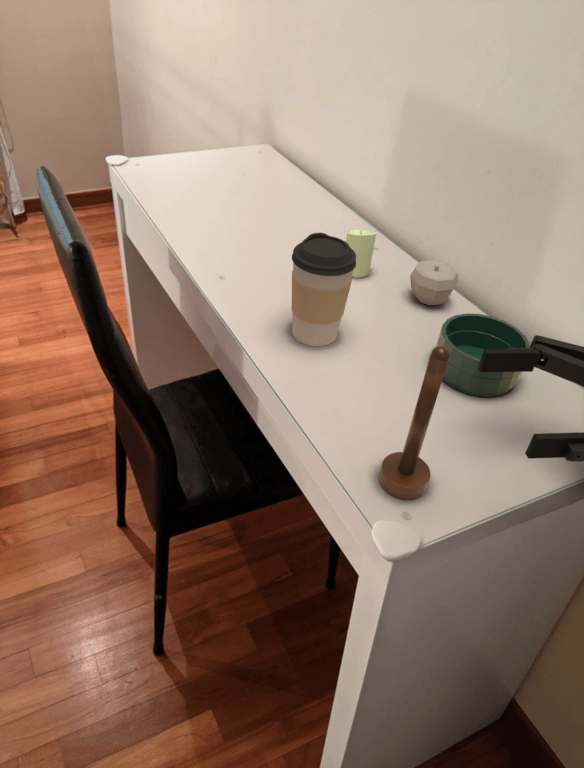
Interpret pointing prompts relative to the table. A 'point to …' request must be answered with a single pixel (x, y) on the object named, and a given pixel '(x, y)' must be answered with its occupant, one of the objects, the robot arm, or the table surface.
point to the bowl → (478, 353)
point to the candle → (361, 250)
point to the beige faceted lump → (433, 281)
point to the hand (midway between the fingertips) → (504, 400)
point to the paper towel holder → (415, 437)
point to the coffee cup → (320, 287)
